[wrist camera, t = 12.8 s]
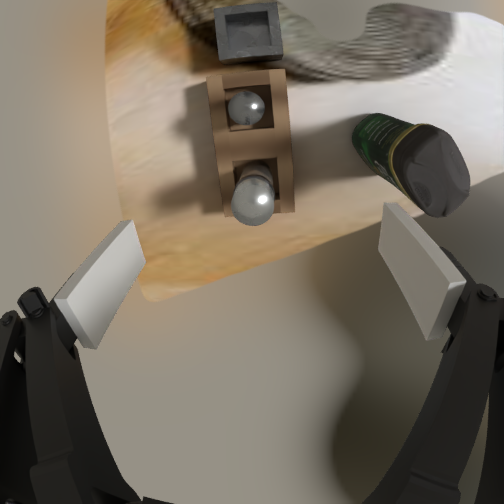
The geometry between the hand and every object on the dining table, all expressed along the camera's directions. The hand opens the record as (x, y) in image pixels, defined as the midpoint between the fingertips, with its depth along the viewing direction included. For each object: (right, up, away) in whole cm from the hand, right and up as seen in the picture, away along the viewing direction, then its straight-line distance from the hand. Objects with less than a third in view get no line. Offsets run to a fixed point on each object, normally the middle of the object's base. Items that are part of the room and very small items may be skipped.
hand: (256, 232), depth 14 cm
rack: (0, +15, +24) cm, 28 cm away
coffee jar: (+19, +15, +23) cm, 34 cm away
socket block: (0, +29, +16) cm, 33 cm away
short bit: (0, +19, +21) cm, 28 cm away
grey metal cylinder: (+1, +10, +26) cm, 28 cm away
